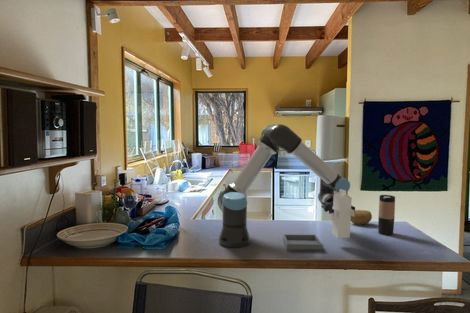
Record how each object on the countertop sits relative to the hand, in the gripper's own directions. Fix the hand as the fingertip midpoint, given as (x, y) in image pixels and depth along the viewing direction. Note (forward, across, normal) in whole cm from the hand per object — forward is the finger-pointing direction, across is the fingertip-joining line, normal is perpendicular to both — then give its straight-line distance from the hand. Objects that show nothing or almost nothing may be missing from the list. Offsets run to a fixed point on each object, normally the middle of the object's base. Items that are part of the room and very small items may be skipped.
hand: (345, 213), depth 145 cm
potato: (-42, -22, -17) cm, 50 cm away
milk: (-5, 0, -12) cm, 13 cm away
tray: (-5, +18, -17) cm, 25 cm away
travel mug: (-25, -30, -17) cm, 42 cm away
